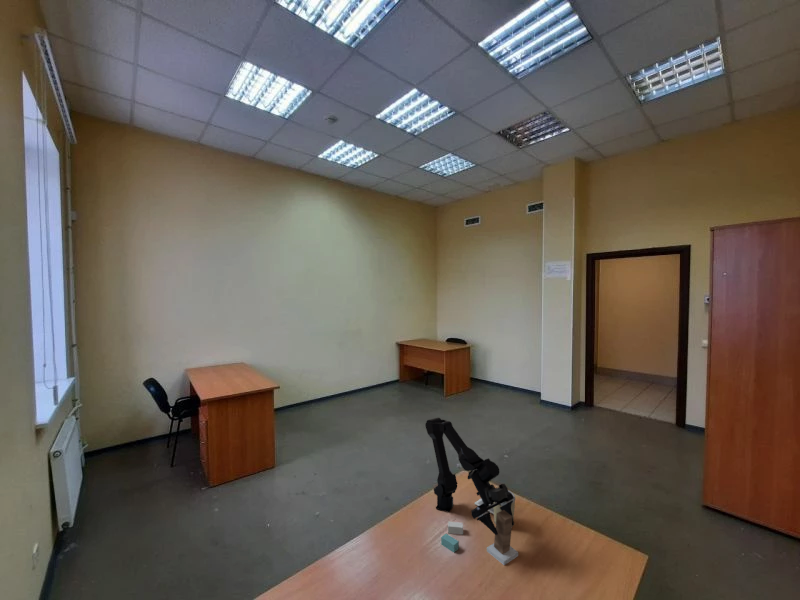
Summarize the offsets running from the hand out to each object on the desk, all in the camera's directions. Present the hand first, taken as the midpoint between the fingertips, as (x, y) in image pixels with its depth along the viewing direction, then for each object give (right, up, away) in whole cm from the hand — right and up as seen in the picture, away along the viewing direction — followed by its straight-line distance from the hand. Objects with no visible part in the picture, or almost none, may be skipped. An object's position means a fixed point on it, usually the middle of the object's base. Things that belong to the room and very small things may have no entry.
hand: (505, 529), depth 122 cm
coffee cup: (+5, -10, +18) cm, 21 cm away
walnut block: (-1, -8, +1) cm, 8 cm away
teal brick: (-20, -10, +5) cm, 23 cm away
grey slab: (-1, -10, +1) cm, 10 cm away
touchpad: (+3, -10, +28) cm, 30 cm away
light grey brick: (-16, -10, +13) cm, 23 cm away
